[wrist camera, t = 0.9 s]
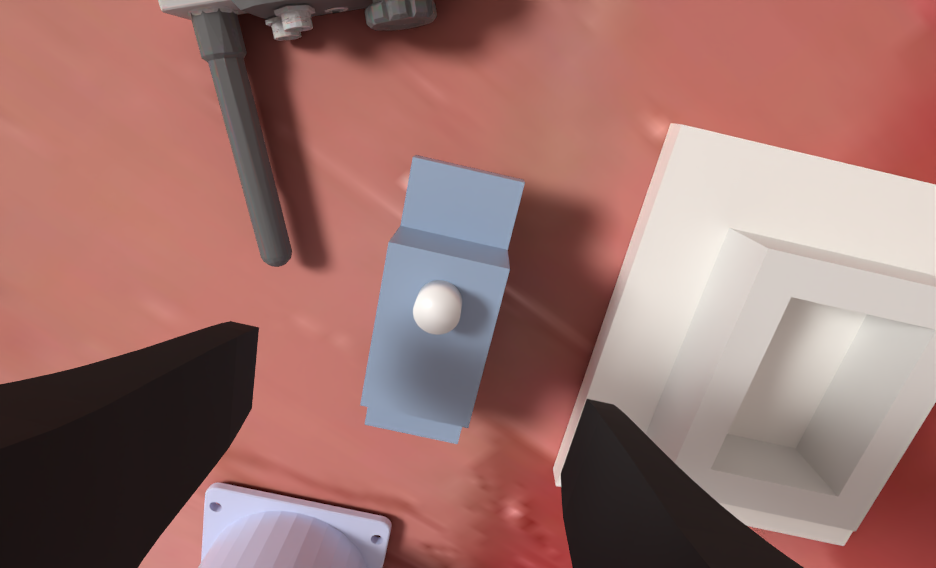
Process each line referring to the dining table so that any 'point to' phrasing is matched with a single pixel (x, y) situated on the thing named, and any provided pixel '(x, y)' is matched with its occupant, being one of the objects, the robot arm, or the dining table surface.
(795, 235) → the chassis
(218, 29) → the walkie-talkie
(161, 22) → the dining table surface
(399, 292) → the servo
